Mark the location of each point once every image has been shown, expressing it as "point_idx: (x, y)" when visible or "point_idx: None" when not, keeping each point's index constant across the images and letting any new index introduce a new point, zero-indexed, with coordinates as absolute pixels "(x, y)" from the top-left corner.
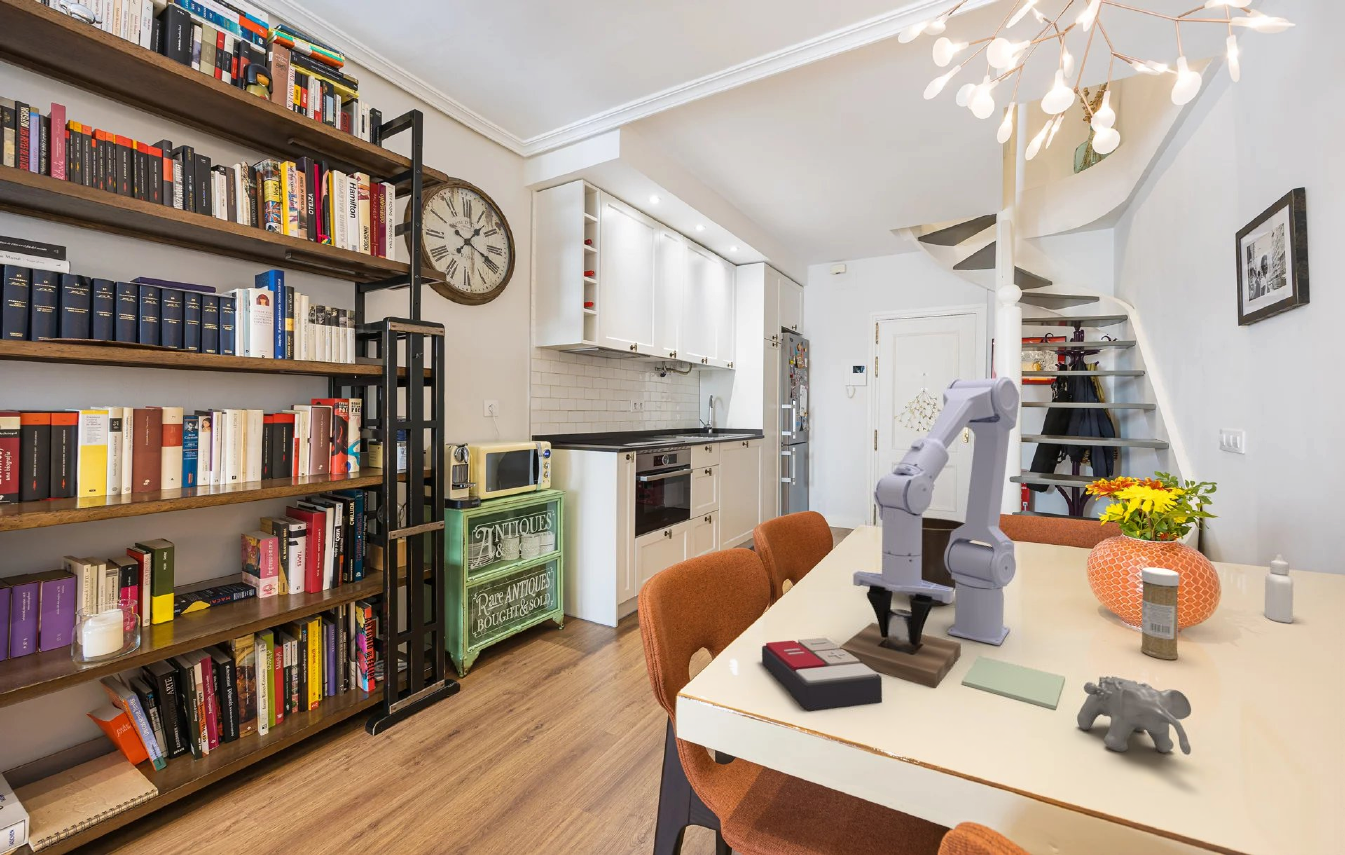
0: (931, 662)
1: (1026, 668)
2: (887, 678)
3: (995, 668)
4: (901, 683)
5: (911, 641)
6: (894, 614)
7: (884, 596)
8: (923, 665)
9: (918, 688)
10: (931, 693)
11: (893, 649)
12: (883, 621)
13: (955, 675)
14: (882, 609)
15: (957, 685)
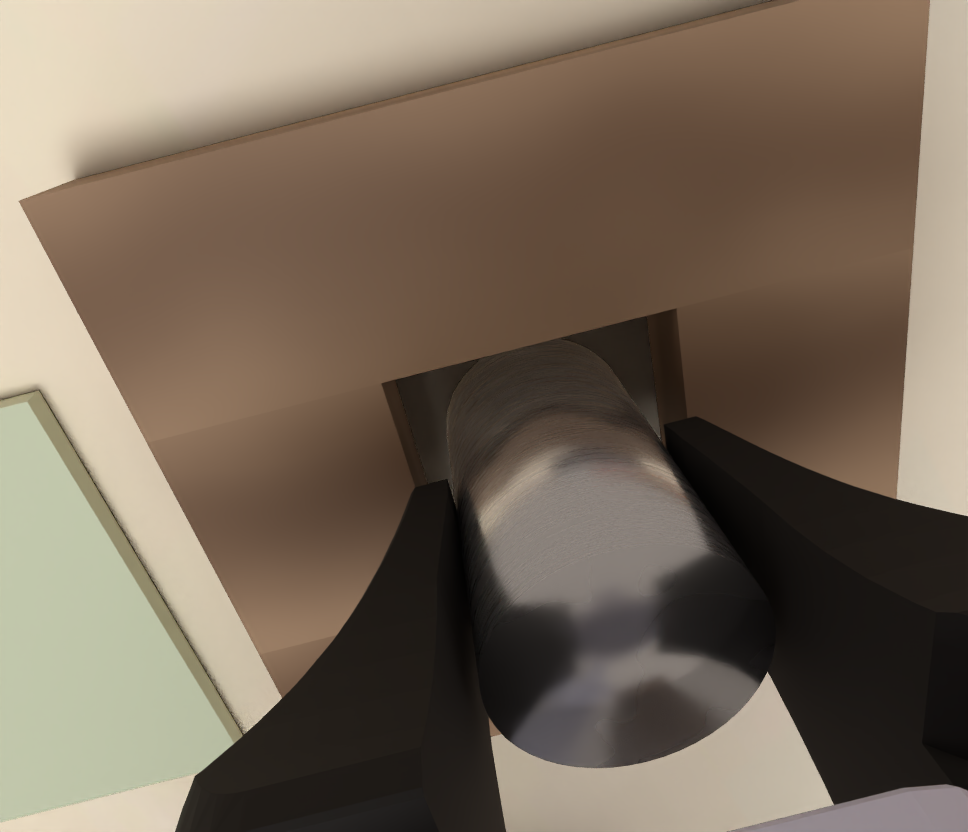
0: (208, 378)
1: (2, 808)
2: (393, 9)
3: (78, 701)
4: (267, 20)
5: (459, 500)
6: (662, 589)
7: (915, 728)
8: (194, 266)
9: (132, 53)
10: (14, 55)
11: (556, 372)
12: (737, 480)
13: (164, 478)
14: (812, 541)
15: (42, 355)
